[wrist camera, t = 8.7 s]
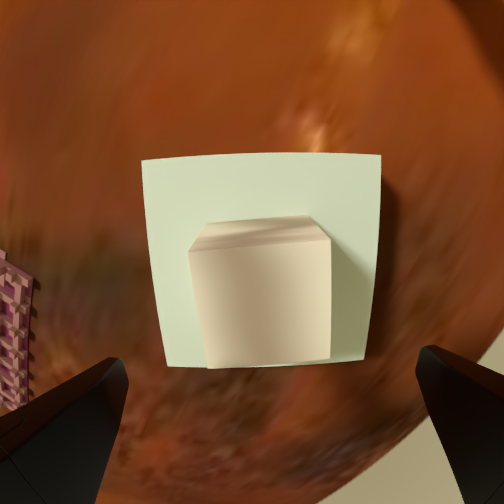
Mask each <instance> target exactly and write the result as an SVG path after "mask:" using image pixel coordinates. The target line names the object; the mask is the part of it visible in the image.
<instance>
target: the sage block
mask: <svg viewBox="0 0 504 504" xmlns="http://www.w3.org/2000/svg"><path fill="white" fill-rule="evenodd" d="M142 177H143V192H144V204H145V215H146V225H147V235H148V244H149V253H150V261H151V269H152V276H153V283H154V290H155V297H156V303H157V310H158V316H159V322H160V328H161V333H162V339H163V344H164V350H165V355H166V360H167V365H168V366H177V367H207V361H206V356H205V351H204V346H203V341H202V335H201V330H200V324H199V319H198V313H197V307H196V301H195V295H194V289H193V283H192V277H191V271H190V264H189V257H188V251H189V249H190V248H191V246H192V245H193V243H194V241H195V240H196V238H197V237H198V235H199V234H200V232H201V231H202V229H203V228H204V226H205V225H206V223H214V222H225V221H236V220H247V219H259V218H271V217H283V216H296V215H308V216H309V217H310V218H311V219H312V220H313V221H314V222H315V223H316V224H317V225H318V226H319V227H320V228H321V230H322V231H323V232H324V233H325V234H326V235H327V236H328V237H329V238H330V239H331V343H330V359H323V360H315V361H306V362H297V363H287V364H276V365H264V366H250V367H269V366H291V365H308V364H322V363H334V362H345V361H355V360H364V355H365V349H366V342H367V336H368V329H369V322H370V315H371V307H372V299H373V291H374V282H375V272H376V261H377V249H378V235H379V217H380V192H381V155H368V154H345V153H246V154H222V155H204V156H189V157H176V158H165V159H154V160H144V161H142Z"/></svg>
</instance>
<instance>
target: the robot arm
mask: <svg viewBox="0 0 504 504" xmlns="http://www.w3.org/2000/svg"><path fill="white" fill-rule="evenodd" d="M415 373H416V377H417V380H418V383H419V386H420V389H421V392H422V395H423V398H424V401H425V404H426V408H427V410H428V413H429V416H430V418H431V420H432V423H433V425H434V427H435V430H436V432H437V434H438V436H439V439H440V441H441V444H442V446H443V448H444V451H445V453H446V456H447V458H448V461H449V463H450V466H451V468H452V471H453V474H454V476H455V479H456V481H457V484H458V487H459V489H460V492H461V495H462V498H463V501H464V503H465V504H504V375H502V374H499V373H497V372H495V371H493V370H491V369H488V368H486V367H484V366H481V365H479V364H477V363H474V362H472V361H470V360H468V359H465V358H463V357H461V356H458V355H456V354H454V353H452V352H449V351H447V350H445V349H443V348H440V347H438V346H436V345H428V346H423V347H422V348H421V350H420V354H419V357H418V361H417V365H416V370H415ZM128 387H129V381H128V377H127V373H126V370H125V366H124V363H123V361H122V359H121V358H114V357H108V358H106V359H105V360H103V361H101V362H99V363H98V364H96V365H94V366H92V367H91V368H89V369H87V370H85V371H84V372H82V373H80V374H78V375H76V376H75V377H73V378H71V379H69V380H68V381H66V382H64V383H62V384H60V385H59V386H57V387H55V388H53V389H51V390H50V391H48V392H46V393H44V394H42V395H41V396H39V397H37V398H35V399H33V400H32V401H30V402H28V403H26V405H22V406H20V407H19V408H17V409H15V410H13V411H11V412H9V413H7V414H5V415H3V416H1V417H0V504H95V501H96V498H97V494H98V491H99V488H100V485H101V481H102V478H103V475H104V472H105V469H106V466H107V463H108V460H109V456H110V453H111V450H112V448H113V445H114V442H115V439H116V436H117V433H118V430H119V426H120V422H121V418H122V413H123V409H124V404H125V400H126V395H127V391H128Z"/></svg>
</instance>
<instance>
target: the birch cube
mask: <svg viewBox="0 0 504 504" xmlns="http://www.w3.org/2000/svg"><path fill="white" fill-rule="evenodd" d="M188 257H189V264H190V271H191V277H192V283H193V289H194V295H195V301H196V307H197V313H198V319H199V324H200V330H201V335H202V341H203V346H204V351H205V356H206V361H207V367H208V369H213V368H234V367H250V366H264V365H276V364H287V363H297V362H306V361H315V360H323V359H330V343H331V239H330V238H329V237H328V236H327V235H326V234H325V233H324V232H323V231H322V230H321V228H320V227H319V226H318V225H317V224H316V223H315V222H314V221H313V220H312V219H311V218H310V217H309V216H308V215H296V216H283V217H271V218H259V219H247V220H236V221H225V222H214V223H206V225H205V226H204V228H203V229H202V231H201V232H200V234H199V235H198V237H197V238H196V240H195V241H194V243H193V245H192V246H191V248H190V249H189V251H188Z"/></svg>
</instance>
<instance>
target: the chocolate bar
mask: <svg viewBox="0 0 504 504" xmlns="http://www.w3.org/2000/svg"><path fill="white" fill-rule="evenodd" d="M6 253H7V252H5V251H3V250H2V249H1V250H0V408H1V407H2V406H3V405H4V406H6V407H7V408H9V409H10V410H12V411H13V410H15V409H17V408H19V407H20V406H22V405H26V403H28V334H29V319H30V307H31V297H32V288H33V280H34V277H33V276H31V275H30V274H28V273H26V272H25V271H23V270H22V269H20V268H18V267H17V266H15V265H13V264H12V263H10V262H9V261H7V260H6Z"/></svg>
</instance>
